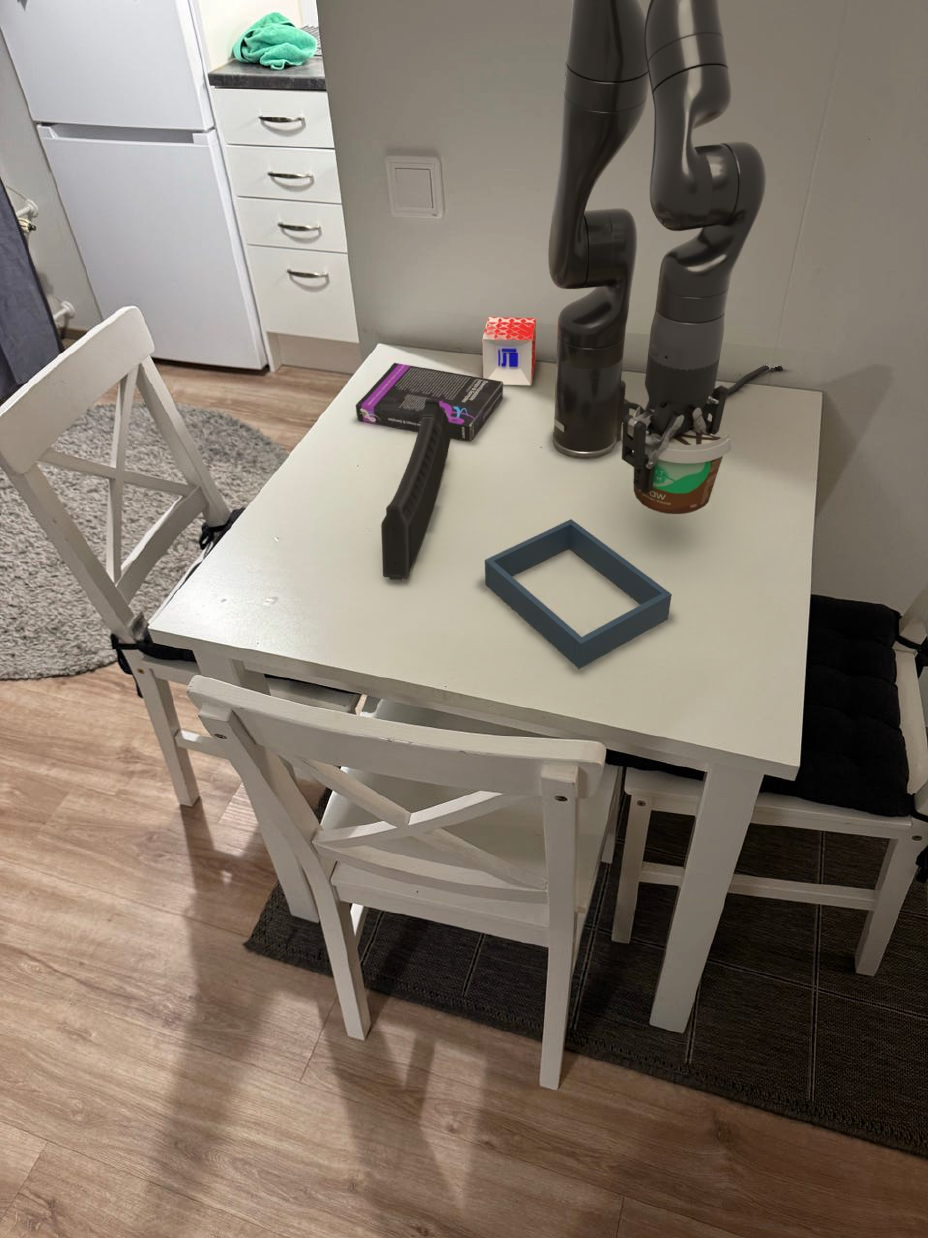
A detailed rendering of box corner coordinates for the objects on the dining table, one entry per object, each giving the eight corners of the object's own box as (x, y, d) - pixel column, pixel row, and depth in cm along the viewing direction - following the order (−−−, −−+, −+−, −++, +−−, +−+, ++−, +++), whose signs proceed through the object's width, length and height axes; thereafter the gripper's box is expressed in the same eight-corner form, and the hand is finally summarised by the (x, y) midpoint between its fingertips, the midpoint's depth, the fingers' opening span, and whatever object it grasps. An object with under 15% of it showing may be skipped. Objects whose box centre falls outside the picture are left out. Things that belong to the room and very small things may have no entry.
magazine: (398, 542, 105) (440, 356, 120) (371, 540, 106) (416, 355, 120) (417, 617, 120) (452, 442, 135) (393, 615, 120) (431, 441, 135)
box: (357, 423, 143) (471, 444, 137) (354, 403, 141) (470, 423, 134) (396, 381, 152) (505, 398, 146) (393, 361, 150) (504, 378, 143)
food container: (604, 499, 111) (610, 427, 104) (628, 475, 115) (635, 404, 108) (698, 532, 106) (711, 459, 99) (719, 506, 109) (734, 433, 102)
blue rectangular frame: (569, 543, 118) (571, 518, 116) (667, 619, 107) (672, 593, 105) (485, 584, 113) (484, 559, 110) (579, 669, 102) (580, 643, 99)
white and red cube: (535, 362, 155) (536, 318, 149) (531, 385, 149) (532, 340, 144) (488, 361, 156) (487, 316, 150) (483, 383, 150) (481, 338, 145)
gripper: (659, 383, 92) (642, 516, 103) (758, 342, 97) (732, 472, 109) (609, 356, 96) (599, 485, 108) (707, 318, 102) (687, 445, 113)
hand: (666, 478), depth 108 cm, fingers closed on food container, 7 cm apart
